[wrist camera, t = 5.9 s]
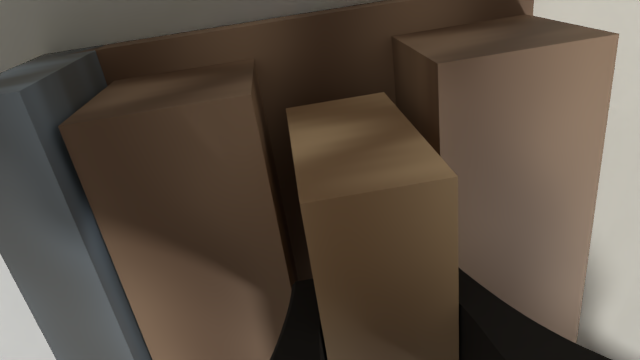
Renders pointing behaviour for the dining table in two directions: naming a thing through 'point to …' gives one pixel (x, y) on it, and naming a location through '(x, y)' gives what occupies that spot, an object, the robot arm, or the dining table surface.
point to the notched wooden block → (287, 167)
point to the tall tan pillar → (377, 230)
